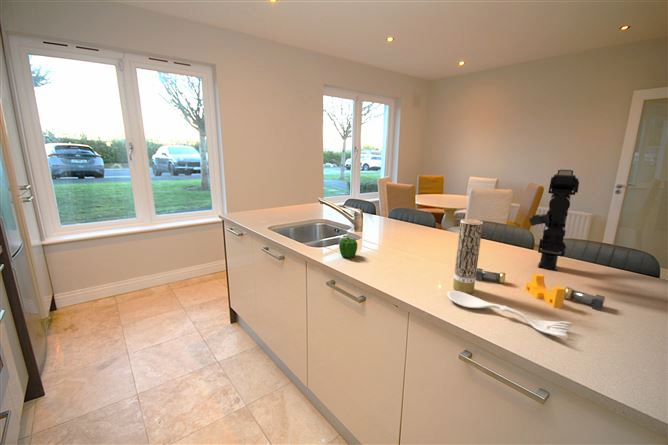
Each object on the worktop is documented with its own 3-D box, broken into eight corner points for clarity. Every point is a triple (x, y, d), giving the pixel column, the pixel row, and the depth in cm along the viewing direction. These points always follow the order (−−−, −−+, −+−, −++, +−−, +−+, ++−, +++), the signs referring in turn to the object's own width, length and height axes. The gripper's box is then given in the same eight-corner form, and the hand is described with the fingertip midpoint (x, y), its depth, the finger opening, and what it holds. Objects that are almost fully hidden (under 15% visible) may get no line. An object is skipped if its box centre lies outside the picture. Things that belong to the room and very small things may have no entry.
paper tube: (449, 285, 107) (456, 218, 101) (467, 285, 107) (475, 218, 102) (458, 294, 100) (467, 223, 95) (477, 294, 101) (487, 223, 95)
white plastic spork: (566, 347, 73) (568, 335, 72) (442, 302, 95) (443, 293, 94) (570, 332, 80) (573, 321, 79) (453, 294, 101) (454, 284, 100)
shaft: (562, 299, 97) (565, 288, 96) (565, 295, 100) (568, 285, 99) (601, 311, 90) (604, 299, 90) (603, 306, 93) (605, 295, 92)
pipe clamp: (525, 290, 104) (527, 273, 103) (537, 291, 104) (540, 274, 103) (547, 307, 93) (551, 288, 91) (561, 308, 92) (565, 289, 91)
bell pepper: (360, 255, 138) (361, 235, 135) (351, 260, 131) (352, 239, 129) (344, 252, 142) (345, 232, 140) (335, 257, 135) (336, 236, 133)
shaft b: (503, 281, 111) (505, 271, 111) (504, 285, 108) (505, 275, 107) (475, 276, 116) (477, 266, 115) (475, 280, 112) (476, 270, 111)
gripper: (534, 203, 120) (528, 239, 124) (530, 209, 106) (523, 250, 110) (568, 206, 114) (561, 244, 117) (569, 213, 99) (560, 257, 103)
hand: (550, 248), depth 112 cm, fingers closed
